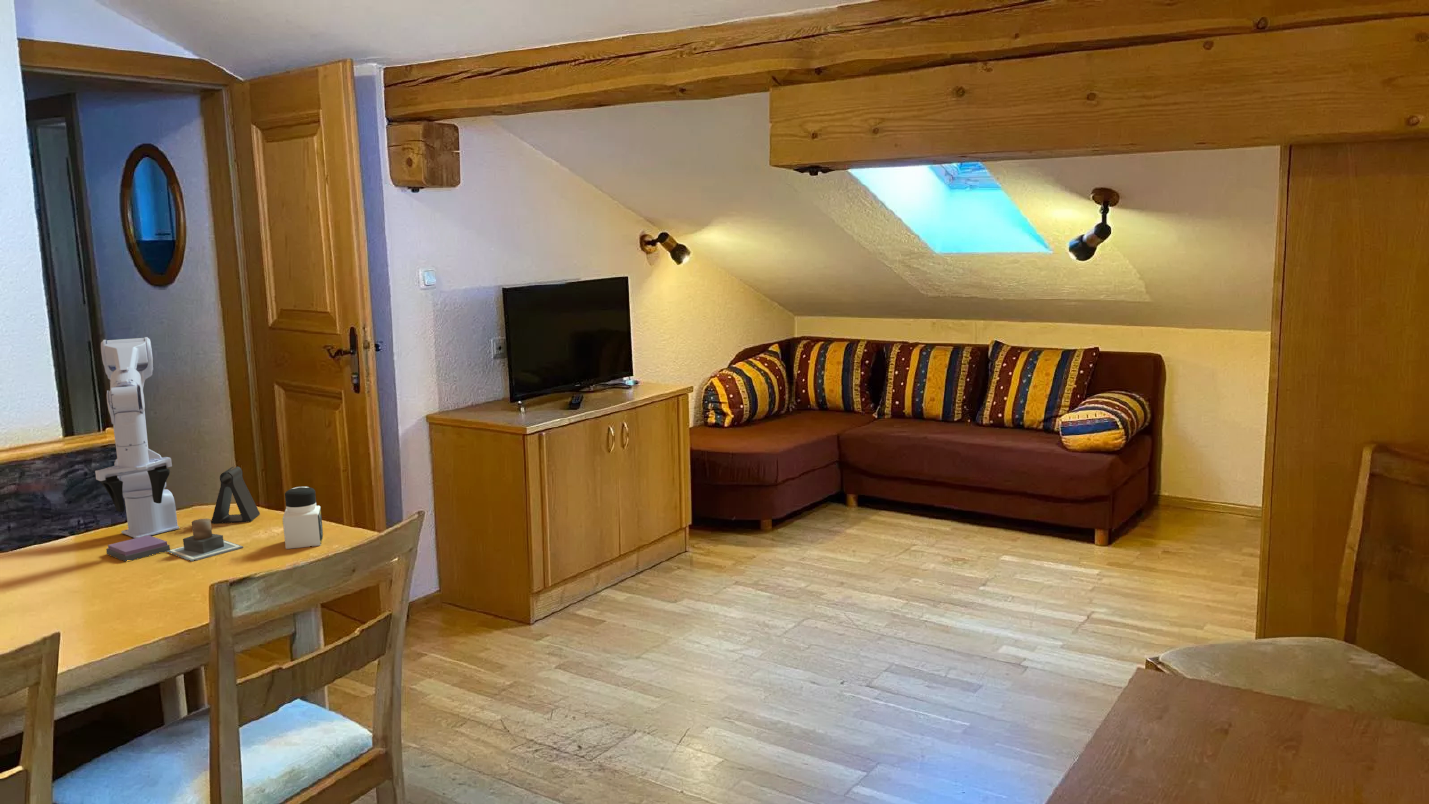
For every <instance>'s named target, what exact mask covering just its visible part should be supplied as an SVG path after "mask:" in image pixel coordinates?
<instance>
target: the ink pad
mask: <svg viewBox="0 0 1429 804" xmlns="http://www.w3.org/2000/svg"><path fill="white" fill-rule="evenodd" d="M170 547H171V545H170V544H168V541H166V540H164V539H161V538H159V537H156V536H154V535H147V536H143V537H139V538H132V539H127V540H123V541H119V542H115V543H111V544H107V548H105V549H106V555H107V554H108V556H110V555H111V556H110V557H112V556H113V558H115V557H116V559H117V558H118V560H120V561H122V560H124V561H123V562H125V561H127V560H132V561H135V560H134V559H136V560H138V559H137V558H140V559H142V557H144V558H146V557H145V556H147V557H150V556H149V555H151V556H153V555H152V554H155V555H157V554H156V553H159V552H163V553H167V552H166V551H168V550H171V548H170ZM159 554H160V553H159Z"/></svg>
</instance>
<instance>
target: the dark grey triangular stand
mask: <svg viewBox="0 0 1429 804" xmlns="http://www.w3.org/2000/svg"><path fill="white" fill-rule="evenodd" d="M219 482H220V487H219V491H218V494H217V498H216V502H215V506H214V510H213V513H212V517H211V519H210V520H211V525H217V524H218V525H219V524H231V523H232V524H235V523H236V524H237V523H238V524H239V523H251V522H253V521H254V520H255V519H256V518H257V517H258V516H260V515H261V513H260V510H259V508H258V506H257V504H256V502H255V500H254V498H253V497H252V495H251V492H250V490H249V489H248V487H247V485H246V483H245V480H244V478H243V470H242V468H241V467H240V466H237V465H236V466H235V467H234V466H231V467H230V468H228V469H226V470H225V471H223V472H222V473H220V475H219ZM232 496H233V498H234V501H235V503H236V505H237V508H238V512H239V514H230V510H231V509H230V508H231V503H232Z"/></svg>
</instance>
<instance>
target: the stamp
mask: <svg viewBox="0 0 1429 804" xmlns="http://www.w3.org/2000/svg"><path fill="white" fill-rule="evenodd" d="M211 520H212V519H210V518H200V519H199V518H198V519H195V520H192V521H191V528H192V535H190V536H188V537H185V538H183V539H182V543H183V547H184V550H186V551H192V552H198V553H207V552H210V551H213V550H216V549H219V548H222V547H224V541H223V540H224V536H223V534H217V533H213V531H212V523H211Z"/></svg>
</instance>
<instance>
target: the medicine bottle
mask: <svg viewBox="0 0 1429 804" xmlns="http://www.w3.org/2000/svg"><path fill="white" fill-rule="evenodd" d="M316 497H317V496H316V490H315V489H314V488H313V487H309V486H296V487H293V488H290V489H288V490H287V491H285V493H284V500H285V510H284V513H283V516H282V525H283V536H284V544H285V545H284V546H285V547H284V548H285V549H286V550H290V549H299V548H300V549H301V548H310V546H312V547H320V546H322V543H323V538H324V530H323V519H322V509H321V508H322V507H321V506H320V505H317V498H316Z"/></svg>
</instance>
